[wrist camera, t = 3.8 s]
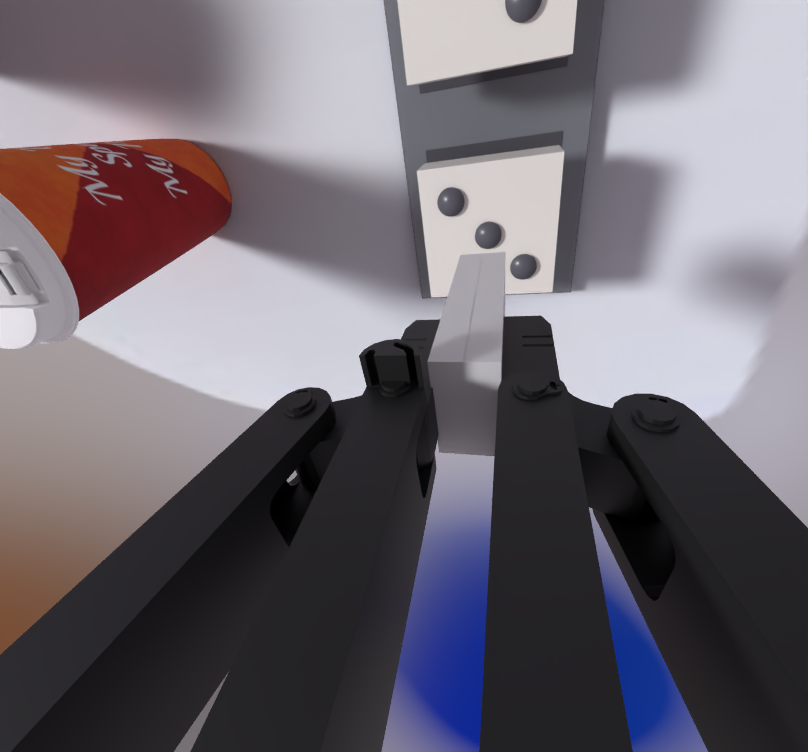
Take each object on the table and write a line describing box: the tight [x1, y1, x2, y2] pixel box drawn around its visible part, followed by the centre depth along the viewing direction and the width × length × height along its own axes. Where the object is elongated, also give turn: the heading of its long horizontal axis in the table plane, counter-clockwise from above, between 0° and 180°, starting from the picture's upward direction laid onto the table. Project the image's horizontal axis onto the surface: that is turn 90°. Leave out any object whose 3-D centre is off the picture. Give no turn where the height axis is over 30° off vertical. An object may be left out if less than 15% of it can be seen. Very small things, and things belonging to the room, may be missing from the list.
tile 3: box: [417, 145, 564, 297], centre depth 18 cm, size 6×6×2 cm
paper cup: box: [0, 139, 232, 349], centre depth 19 cm, size 8×8×14 cm
